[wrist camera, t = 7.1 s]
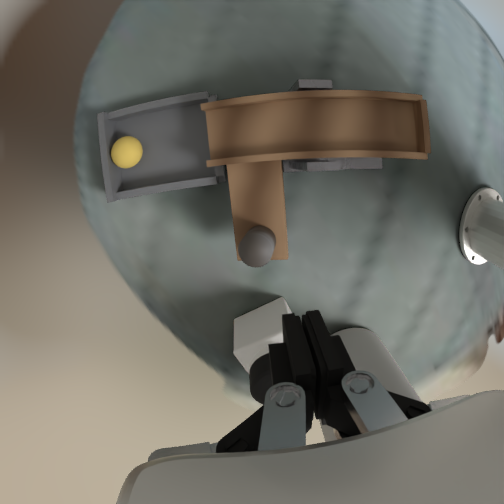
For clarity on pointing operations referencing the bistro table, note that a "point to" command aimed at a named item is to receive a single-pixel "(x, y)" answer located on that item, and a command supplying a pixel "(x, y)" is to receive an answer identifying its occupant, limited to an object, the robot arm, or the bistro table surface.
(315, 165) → the stand
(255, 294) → the bistro table surface
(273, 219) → the lever
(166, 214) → the bistro table surface
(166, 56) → the bistro table surface
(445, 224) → the bistro table surface
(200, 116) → the tray
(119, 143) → the ball
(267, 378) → the medicine bottle
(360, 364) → the cylinder vase
